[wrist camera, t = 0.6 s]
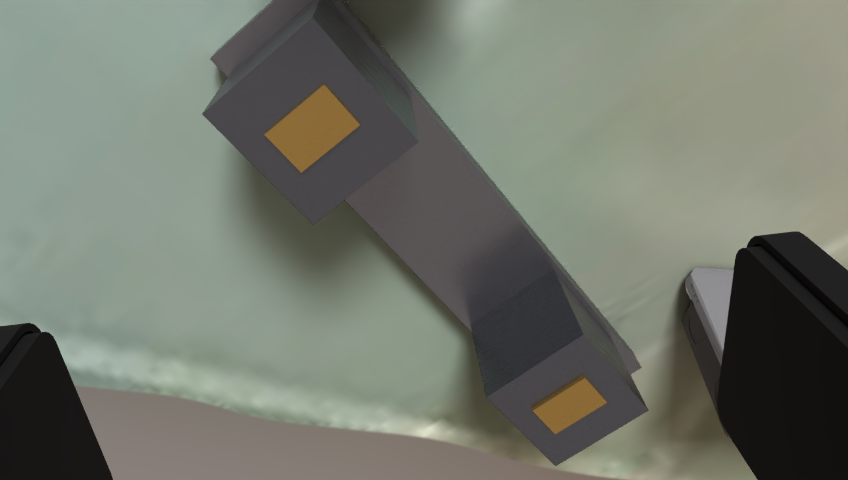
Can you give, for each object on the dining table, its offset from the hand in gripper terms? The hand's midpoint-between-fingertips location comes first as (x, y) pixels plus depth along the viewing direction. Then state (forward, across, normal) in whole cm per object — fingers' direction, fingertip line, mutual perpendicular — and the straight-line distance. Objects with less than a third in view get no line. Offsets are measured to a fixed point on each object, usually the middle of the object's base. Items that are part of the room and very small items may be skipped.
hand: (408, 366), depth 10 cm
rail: (+25, -3, +10) cm, 28 cm away
